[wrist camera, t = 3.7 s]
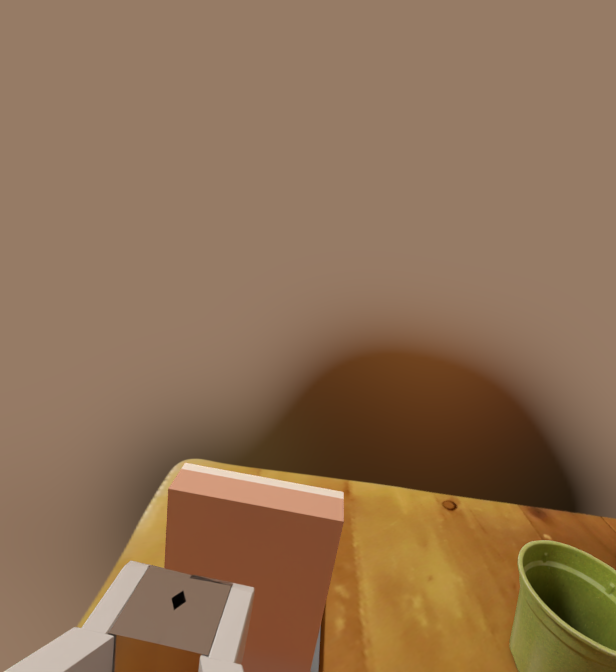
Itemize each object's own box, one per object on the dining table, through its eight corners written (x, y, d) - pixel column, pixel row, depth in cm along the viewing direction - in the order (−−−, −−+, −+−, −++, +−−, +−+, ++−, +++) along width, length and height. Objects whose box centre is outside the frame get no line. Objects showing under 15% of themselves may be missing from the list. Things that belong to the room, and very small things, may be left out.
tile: (301, 709, 25) (343, 521, 21) (158, 679, 26) (168, 488, 21) (304, 669, 28) (343, 492, 23) (173, 643, 28) (185, 462, 23)
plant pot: (604, 784, 24) (661, 696, 22) (468, 654, 31) (499, 574, 28) (630, 684, 31) (676, 606, 28) (512, 593, 37) (541, 523, 35)
